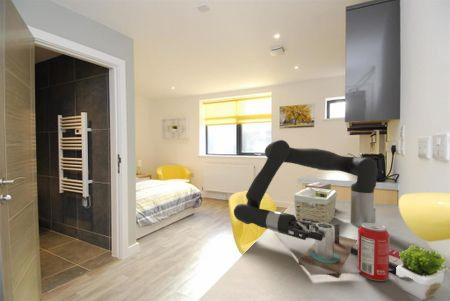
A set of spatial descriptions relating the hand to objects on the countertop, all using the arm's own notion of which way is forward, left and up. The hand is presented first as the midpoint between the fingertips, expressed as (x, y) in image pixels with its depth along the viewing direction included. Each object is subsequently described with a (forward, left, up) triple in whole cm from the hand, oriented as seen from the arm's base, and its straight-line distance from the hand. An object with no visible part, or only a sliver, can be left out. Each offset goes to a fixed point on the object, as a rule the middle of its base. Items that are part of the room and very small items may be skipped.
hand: (326, 233), depth 75 cm
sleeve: (0, 0, -8) cm, 8 cm away
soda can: (-10, +9, -10) cm, 16 cm away
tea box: (-31, -64, -10) cm, 71 cm away
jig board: (-5, -6, -10) cm, 12 cm away
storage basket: (-18, -41, -10) cm, 46 cm away
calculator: (-19, +1, -10) cm, 21 cm away
